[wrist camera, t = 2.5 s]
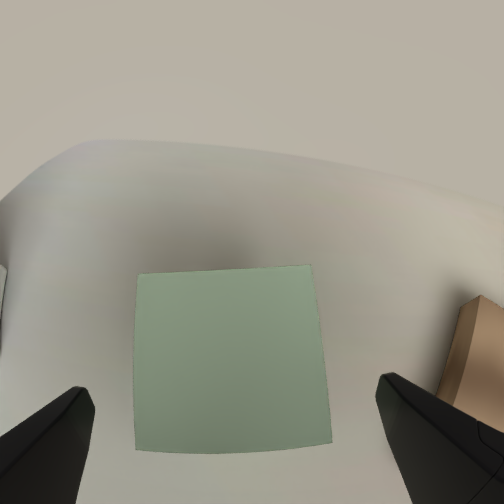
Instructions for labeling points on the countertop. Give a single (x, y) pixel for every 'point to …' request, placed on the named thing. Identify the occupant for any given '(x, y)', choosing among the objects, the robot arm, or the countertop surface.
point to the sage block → (229, 362)
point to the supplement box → (2, 283)
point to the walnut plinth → (477, 363)
